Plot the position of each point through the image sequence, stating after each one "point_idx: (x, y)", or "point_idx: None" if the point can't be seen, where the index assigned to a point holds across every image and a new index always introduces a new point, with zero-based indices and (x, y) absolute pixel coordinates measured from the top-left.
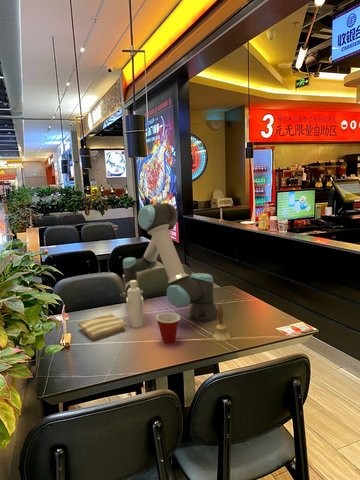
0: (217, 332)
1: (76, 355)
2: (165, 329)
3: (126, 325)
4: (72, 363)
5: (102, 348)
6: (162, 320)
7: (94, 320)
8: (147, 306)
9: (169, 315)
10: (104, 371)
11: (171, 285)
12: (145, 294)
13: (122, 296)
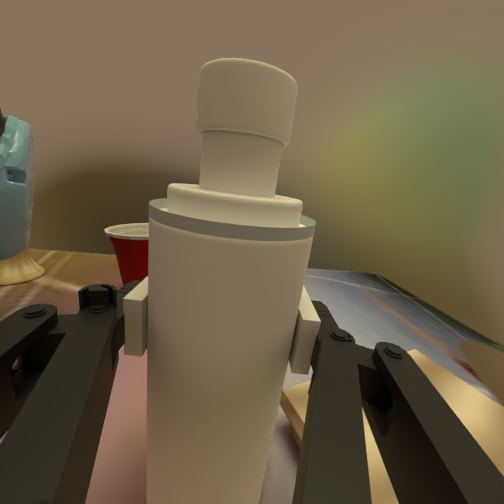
0: (29, 256)
1: (401, 328)
2: None
3: (281, 399)
4: (386, 308)
5: None
6: None
7: None
8: None
9: (123, 242)
10: (307, 279)
11: (17, 120)
12: (42, 318)
13: (398, 377)
